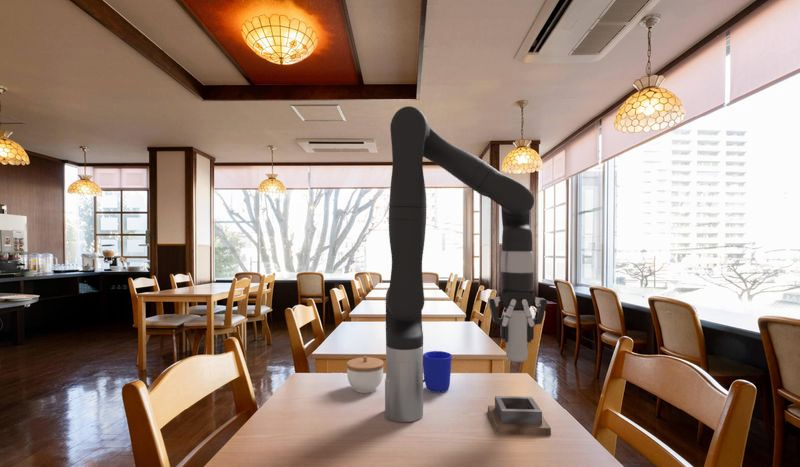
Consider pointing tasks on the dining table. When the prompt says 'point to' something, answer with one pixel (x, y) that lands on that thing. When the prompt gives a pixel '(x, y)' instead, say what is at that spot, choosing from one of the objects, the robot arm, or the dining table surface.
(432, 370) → the mug
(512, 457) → the dining table surface
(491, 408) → the can holder
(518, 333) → the beverage can
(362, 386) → the lidded jar
